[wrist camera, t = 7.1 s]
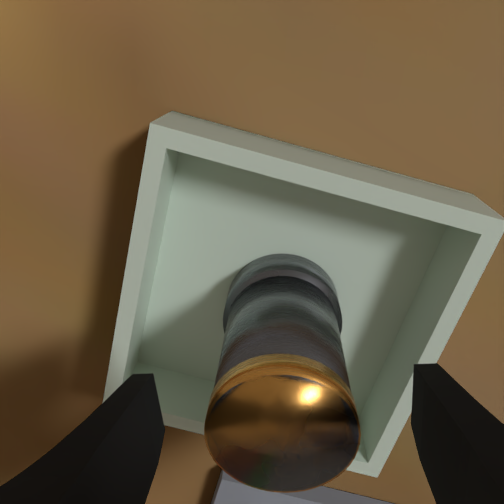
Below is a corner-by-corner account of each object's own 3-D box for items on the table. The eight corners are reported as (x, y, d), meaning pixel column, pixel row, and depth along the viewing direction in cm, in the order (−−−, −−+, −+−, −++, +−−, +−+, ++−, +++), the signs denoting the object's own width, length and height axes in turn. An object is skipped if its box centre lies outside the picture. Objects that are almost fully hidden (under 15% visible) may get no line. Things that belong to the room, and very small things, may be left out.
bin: (472, 194, 17) (509, 221, 14) (365, 422, 22) (377, 477, 19) (172, 110, 17) (150, 122, 14) (125, 362, 21) (101, 409, 18)
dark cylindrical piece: (339, 348, 19) (365, 495, 13) (232, 352, 20) (209, 497, 13) (336, 250, 18) (367, 364, 11) (221, 256, 18) (187, 371, 12)
